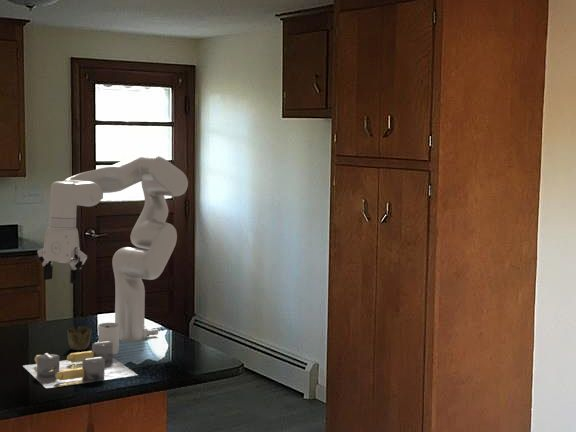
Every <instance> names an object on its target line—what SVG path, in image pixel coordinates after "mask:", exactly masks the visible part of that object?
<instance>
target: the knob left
mask: <svg viewBox="0 0 576 432" xmlns="http://www.w3.org/2000/svg"><path fill="white" fill-rule="evenodd" d="M104 372H105V360H104V359H103V358H101V357H92V358H86V359H83V360H82V368H74V369H67V370H59V372H57V373H56V374H55V377H56V379H58V380H60V381H61V380H68V379H75V378H82V379H83V380H85V381H95V382H100V380H102V381H104V380H103V379H104Z"/></svg>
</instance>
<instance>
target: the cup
mask: <svg viewBox="0 0 576 432" xmlns="http://www.w3.org/2000/svg"><path fill="white" fill-rule="evenodd" d="M66 332H67V342H68V346H69V347H70V349H71V350H74V351H77V352H80V351H81V352H83V351H85V350H86V349H87V348H88V347H89V345H90V344H91V338H92V337H91V336H92V328H91V327H90V326H89V327H87V326H85V325H83V326H80V325H79V326H78V328H75V327H74V326H72V327H68V329H66Z"/></svg>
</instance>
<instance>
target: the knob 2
mask: <svg viewBox="0 0 576 432" xmlns="http://www.w3.org/2000/svg"><path fill="white" fill-rule="evenodd" d="M113 355H114V354H113V344H112V343H111V342H110V341H106V342H99V341H97V342H93V343H91V350H87V351H81V352H80V351H77V352H71V353H69V354H68V355H67V356H66V360H68V361H69V362H71V363H73V362H81V361H82V360H83V359H86V358H92V357H101V358H103V359H104V360H105V363H109V362H112V361H113V358H114V357H113Z"/></svg>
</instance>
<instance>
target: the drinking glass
mask: <svg viewBox="0 0 576 432" xmlns="http://www.w3.org/2000/svg"><path fill="white" fill-rule="evenodd" d="M97 331H98V332H97V335H98V336H97V337H98V342H106V341H110V342H111V343H112V344H113V355H117V354H118V353H119V348H120V346H119V344H120V341H119V331H120V324H118V323H115V322H101V323H99V324H98V325H97Z"/></svg>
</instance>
